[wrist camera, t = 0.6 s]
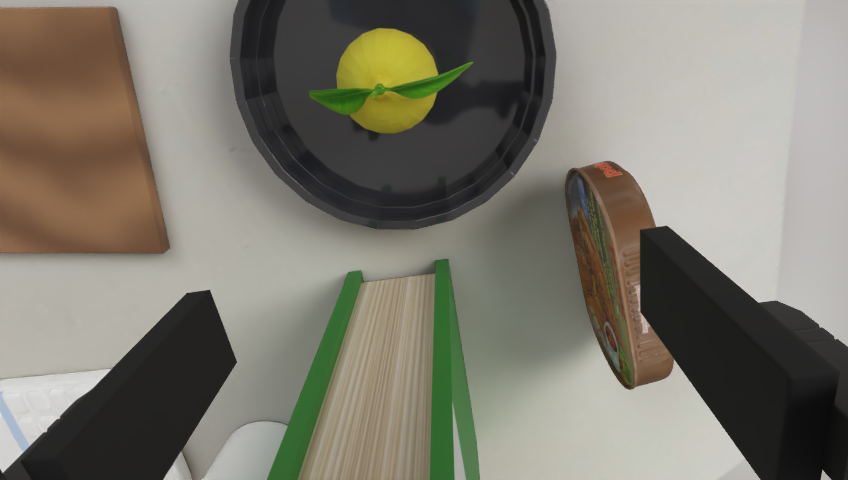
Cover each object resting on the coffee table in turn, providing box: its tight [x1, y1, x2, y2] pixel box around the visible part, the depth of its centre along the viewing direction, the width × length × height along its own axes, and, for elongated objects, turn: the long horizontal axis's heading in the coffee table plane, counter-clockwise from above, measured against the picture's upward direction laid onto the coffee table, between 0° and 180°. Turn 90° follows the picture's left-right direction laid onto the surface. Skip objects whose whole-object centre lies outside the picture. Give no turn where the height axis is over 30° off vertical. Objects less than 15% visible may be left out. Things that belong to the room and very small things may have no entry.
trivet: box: [0, 7, 170, 253], centre depth 33 cm, size 16×14×1 cm
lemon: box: [309, 28, 473, 133], centre depth 26 cm, size 7×6×10 cm
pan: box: [230, 0, 556, 229], centre depth 29 cm, size 18×18×4 cm
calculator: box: [0, 369, 192, 480], centre depth 42 cm, size 13×20×2 cm, turn 98°
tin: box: [565, 161, 674, 390], centre depth 31 cm, size 15×3×8 cm, turn 16°
